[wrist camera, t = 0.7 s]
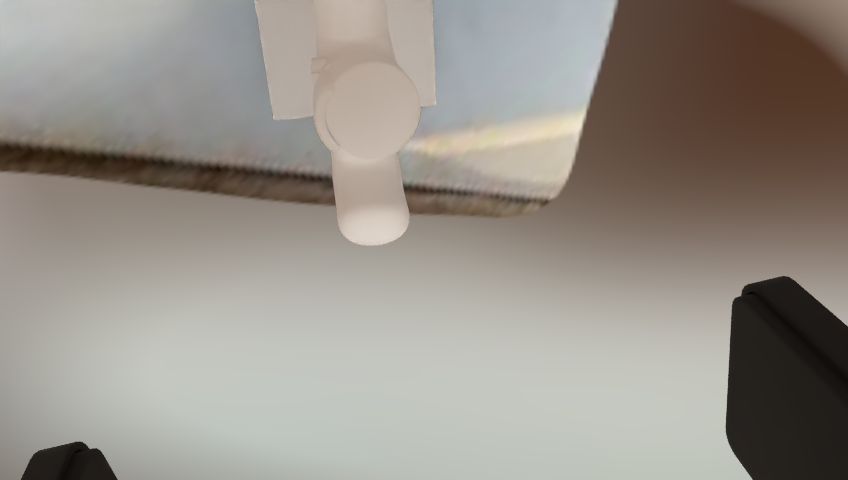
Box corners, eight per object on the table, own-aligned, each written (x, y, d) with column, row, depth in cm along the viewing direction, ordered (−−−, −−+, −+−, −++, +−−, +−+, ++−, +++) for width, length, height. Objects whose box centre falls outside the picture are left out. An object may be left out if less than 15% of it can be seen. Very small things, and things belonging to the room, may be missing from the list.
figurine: (415, -105, 30) (495, -80, 17) (425, 105, 35) (494, 249, 22) (247, -95, 30) (197, -62, 16) (280, 118, 34) (260, 275, 21)
